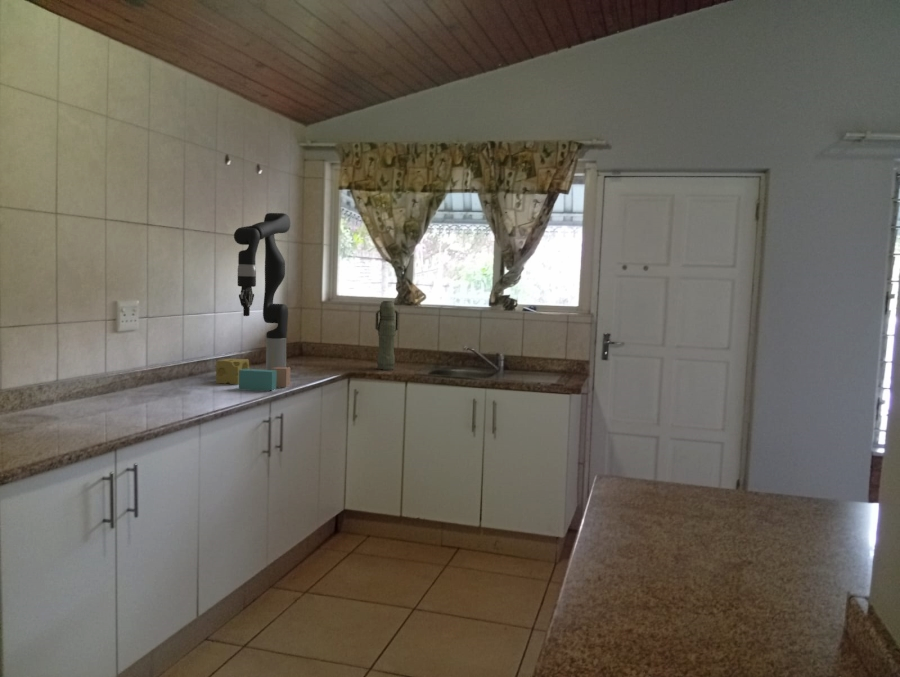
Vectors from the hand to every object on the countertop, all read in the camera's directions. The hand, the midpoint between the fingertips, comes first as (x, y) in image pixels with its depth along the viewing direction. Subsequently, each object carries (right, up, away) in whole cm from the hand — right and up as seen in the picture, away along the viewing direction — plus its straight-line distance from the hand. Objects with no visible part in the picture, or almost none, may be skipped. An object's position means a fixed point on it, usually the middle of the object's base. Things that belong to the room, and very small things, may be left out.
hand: (246, 315), depth 305 cm
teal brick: (+8, -31, -13) cm, 34 cm away
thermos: (+54, -26, +64) cm, 88 cm away
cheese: (-7, -29, +3) cm, 30 cm away
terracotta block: (+16, -30, -3) cm, 34 cm away
